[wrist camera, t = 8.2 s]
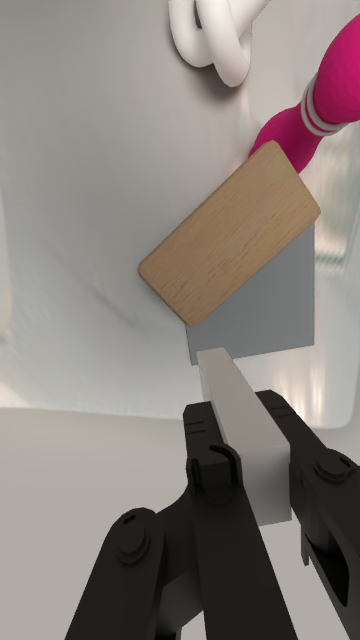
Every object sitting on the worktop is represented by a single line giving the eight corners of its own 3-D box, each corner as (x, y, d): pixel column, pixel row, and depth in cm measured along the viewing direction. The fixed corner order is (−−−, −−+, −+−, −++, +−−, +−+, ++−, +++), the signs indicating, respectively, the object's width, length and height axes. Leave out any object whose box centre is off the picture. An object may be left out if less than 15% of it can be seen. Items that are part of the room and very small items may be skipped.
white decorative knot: (228, -46, 26) (259, -201, 18) (281, 55, 29) (330, -36, 20) (156, 27, 27) (152, -84, 19) (214, 117, 30) (233, 57, 21)
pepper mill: (236, 147, 31) (352, -49, 12) (285, 127, 31) (484, -107, 11) (251, 199, 33) (371, 104, 13) (296, 181, 33) (486, 58, 13)
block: (185, 314, 36) (281, 227, 34) (192, 332, 26) (328, 212, 24) (142, 268, 34) (241, 172, 31) (132, 269, 24) (275, 130, 22)
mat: (171, 233, 33) (171, 232, 33) (311, 211, 34) (314, 210, 33) (191, 364, 39) (191, 365, 38) (312, 343, 39) (314, 344, 39)
